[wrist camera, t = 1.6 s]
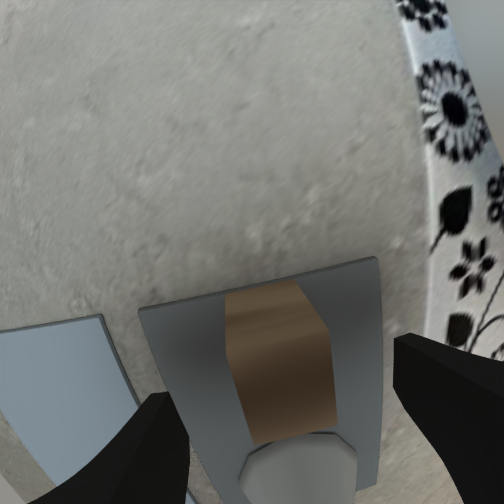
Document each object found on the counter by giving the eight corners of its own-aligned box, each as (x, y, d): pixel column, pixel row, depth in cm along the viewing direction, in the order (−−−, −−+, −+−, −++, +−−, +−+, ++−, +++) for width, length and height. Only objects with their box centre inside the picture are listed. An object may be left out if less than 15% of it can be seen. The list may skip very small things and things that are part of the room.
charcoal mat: (374, 480, 18) (398, 531, 13) (232, 514, 18) (236, 570, 13) (374, 256, 14) (441, 294, 9) (139, 308, 14) (101, 373, 9)
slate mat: (206, 516, 18) (206, 520, 18) (86, 513, 18) (85, 516, 17) (101, 314, 14) (98, 317, 13) (-33, 336, 13) (-37, 338, 13)
